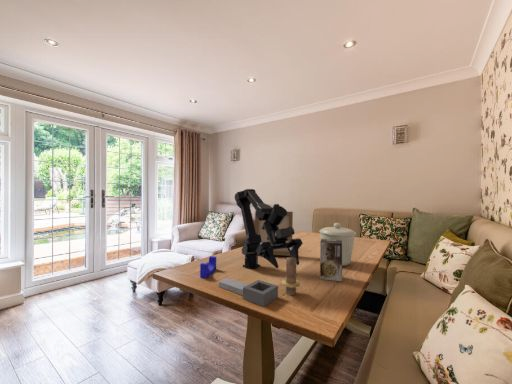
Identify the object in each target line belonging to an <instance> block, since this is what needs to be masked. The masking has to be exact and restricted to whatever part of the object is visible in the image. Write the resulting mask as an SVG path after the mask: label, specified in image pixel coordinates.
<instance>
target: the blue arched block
mask: <svg viewBox="0 0 512 384" xmlns="http://www.w3.org/2000/svg"><path fill="white" fill-rule="evenodd" d="M208 257H209V258H208V261H207V262H201V263H200V266H199V267H200V268H199V269H200V270H199V273H200V274H199V278H200V279H208V278H209V277H210V276H211V275H212V274H213V273H214V272H215V271H216V269H217V256H213V255H211V256H208Z"/></svg>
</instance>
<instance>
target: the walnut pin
mask: <svg viewBox="0 0 512 384" xmlns="http://www.w3.org/2000/svg"><path fill="white" fill-rule="evenodd" d="M285 261H286V262H285V263H286V264H285V265H286V270H285V274H286V275H285V278H284V279H282V282H281V283H282V285H283V286H284V287H285V295H288V296H295V295H297V288H299V287H300V285H301V281H300V280H298V279H297V264H296V258H295V257H291V256H286V260H285Z"/></svg>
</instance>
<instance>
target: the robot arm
mask: <svg viewBox="0 0 512 384" xmlns="http://www.w3.org/2000/svg"><path fill="white" fill-rule="evenodd" d="M234 201H235V203H236V206H237V207H238V209H240V212H241V216H242V222H243V226H244V231H245V237H244V241H243V242H244V244H243V246H242V248H241V254H242V255H244V264H242V267H244V268H247V269H251V270H255V269H256V268H258V267H261V264H259V257H261V258H264V260H266V261H268V262H269V263H270V264H271V265H272V266H274V268H275V269H279V262H278V261H277V258H276V255H274V254H273V250H275V249H283V248H288V250H289V251H290V252H289V253H290V255H291V256H290V257H295V258H296V266H299V265H300V259H299V258H300V257H299V249H300V248H301V247H302V245H303V244H304V243H303V241H302V239H301V238H292V240H291V241H290V242H289V243H286V241H287V240H288V237H291V236H292V237H293V235H295V229H294V227H288V228H283V229H279V227H278V225H280V224H281V223H282V221H283V220H284V218H285V216H286V215H287V212H288V211H287V209H285V207H283V206H281V205H280V204H279V203H274V205H273V206H271V205H270V204H266V203H265V202H264V201H263V200H262V198H261V197H260V196H259V194H257V192H256V190H255V189H254V188H246V189H244V190H240V191H236V193H235V194H234ZM251 206H252V207H253V208H254V210H255V211H256V213H254V214H256V216H257V218H258V220H259V221H265V220H266V221H265V222H264V223H263V226H262V229H265V231H266V233H267V236H268V237H267V240H270V242H269V241H268V242H262V240H261V236H260V235H258V234H257V233H256V231H255V222H254V218H253V214H252V210H251Z"/></svg>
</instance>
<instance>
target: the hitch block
mask: <svg viewBox="0 0 512 384" xmlns="http://www.w3.org/2000/svg"><path fill="white" fill-rule="evenodd" d="M218 288H221V289H224V290H227V291H230V292H232V293H235V294H238V295H240V296H242V299H243V300H246V301H248V302H249V303H252V304H255V305H258V306H261V307H265V306H267V305H268V304H270V303H271V302H273V301H274V300H276V299H277V298H278V297H279V286H278V285H276V284H274V283H270V282H266V281H263V280H260V279H257V280H255V281H252V282H251V283H249V284H247V283H245V282H242V281H239V280H236V279H232V278H230V277H226V278H224V279H222V280H218Z"/></svg>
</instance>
